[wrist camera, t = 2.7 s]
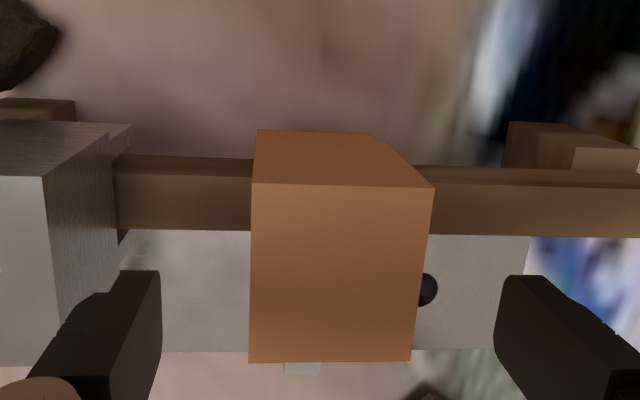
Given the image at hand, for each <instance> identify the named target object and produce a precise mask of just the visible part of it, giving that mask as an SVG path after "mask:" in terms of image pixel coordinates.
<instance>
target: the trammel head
mask: <svg viewBox="0 0 640 400" xmlns="http://www.w3.org/2000/svg"><path fill="white" fill-rule="evenodd" d="M434 193H435V188H434V187H433V186H432V185H431V184H430V183H429V182H428V181H427V180H426V179H425V178H424V177H423V176H422V175H421V174H420V173H419V172H418V171H417V170H415V169H414V168H413V167H412V166H411V165H410V164H409V163H408V162H407V161H406V160H405V159H404V158H403V157H402V156H401V155H400V154H399V153H398V152H397V151H396V150H395V149H394V148H393V147H392V146H391V145H389V144H388V143H387V142H377V141H376V140H375V139H374V138H373V137H372V136H371V135H370V134H355V133H331V132H307V131H283V130H260V129H257V137H256V141H255V152H254V164H253V175H252V196H251V250H250V303H249V356H248V363H284V376H311V375H321V368H322V362H384V361H410V357H411V350H412V343H413V336H414V329H415V322H416V316H417V309H418V302H419V295H420V288H421V282H422V275H423V268H424V261H425V254H426V247H427V241H428V234H429V227H430V220H431V213H432V206H433V200H434Z"/></svg>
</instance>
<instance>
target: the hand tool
mask: <svg viewBox="0 0 640 400" xmlns="http://www.w3.org/2000/svg"><path fill="white" fill-rule="evenodd" d="M58 33H59V31H58V29H57V28H56V27H55V26H52V25H50V23H49V22H47V21H45V20H42V19H38V18H35V17H32V15H31V13H30V11H29V10H28V9H27V8H26V7H25V6H24V4H23V3H22V2H21V1H20V0H0V92H2V91H7V90H12V89H13V88H14V87H15V86H16V85H17V84H18V83H20V82H21V81H22V80H23V79H25V78H26V77H27V75H28V74H29V73H30V72H31V71H32V70H33V69H34V68H36V67H37V66H38V65H39V64H40V63H41V62H42V60H43V59H44V58H45V57H46V55H47V54H48V53H49V51H50V50H51V48H52V46H53V45H54V43H55V41H56V39H57V36H58Z"/></svg>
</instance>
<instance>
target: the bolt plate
mask: <svg viewBox="0 0 640 400" xmlns="http://www.w3.org/2000/svg"><path fill="white" fill-rule="evenodd" d="M530 238H531V236H490V235H435V234H428V241H427V247H426V254H425V261H424V268H423V275H422V282H421V288H420V295H419V302H418V309H417V316H416V322H415V329H414V336H413V343H412V350H426V349H494V345H493V331H494V326H495V321H496V317H497V312H498V307H499V302H500V297H501V292H502V287H503V283H504V281H505V279H506V278H507V277H508V276H509V275H523V270H524V266H525V261H526V257H527V252H528V248H529V243H530ZM250 250H251V231H211V230H156V229H139V234H138V236H137V237H136V239H135V241H134V242H133V244H132V245H131V247H130V249H129V250H128V252H127V254H126V255H125V257H124V259H123V260H122V262H121V263H120V265H119V267H120V273H121V271H122V270H158V271H159V273H160V279H161V300H162V326H163V342H162V352H236V351H249V303H250ZM119 275H120V274H119ZM117 278H118V277H117ZM116 280H117V279H116ZM114 283H115V282H114ZM113 285H114V284H113ZM111 288H112V287H111ZM110 290H111V289H110Z"/></svg>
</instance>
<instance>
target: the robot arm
mask: <svg viewBox="0 0 640 400" xmlns="http://www.w3.org/2000/svg"><path fill="white" fill-rule="evenodd" d="M162 342H163V326H162V300H161V279H160V273H159V271H158V270H122V271H121V273H120V275H119V276H118V278H117V280H116V281H115V283H114V285H113V286H112V288H111V290H110V291H109V292H95V293H93V294H92V295H90V296H89V297H87V298H86V299H84V300H83V301H81V302H80V303H78V304H77V305H75V307H74V308H73V310H72V311H71V313H70V314H69V315H68V317H67V318H66V320H65V324H62V326H61V327H60V329H59V330H58V331H57V333H56V337H53V339H52V340H51V342H50V343H49V345H48V346H47V348H46V349H45V350H44V352H43V353H42V355H41V356H40V358H39V359H38V361H37V362H36V364H35V365H34V366H33V368H32V369H31V371H30V372H29V374H28V375H27V377H26V378H25V379H23V380H19V381H16V382H13V383H10V384H8V385H5V386H3V387H1V388H0V400H148V397H149V394H150V391H151V387H152V384H153V381H154V378H155V375H156V372H157V368H158V365H159V362H160V358H161V352H162ZM493 345H494V349H495V353H496V355H497V358H498V359H499V361H500V362H501V364H502V365H503V366H504V368H505V369H506V371H507V372H508V373H509V375H510V376H511V378H512V379H513V380H514V382H515V383H516V384H517V386H518V387H519V389H520V390H521V391H522V393H523V394H524V396H525V397H526V398H527V400H640V353H639V352H638V351H637V350H636V349H635V348H633V347H632V346H631V345H630V344H629V343H628V342H626V341H625V340H624V339H623V338H622V337H620V336H619V335H615V331H613V330H612V329H611V328H610V327H609V326H608V325H606V324H605V323H602V320H601V319H599V318H598V317H597V316H596V315H595V314H594V313H592V312H591V311H590V310H589V309H588V308H587V307H585V306H583V305H581V304H579V303H577V302H575V301H574V300H572V299H570V298H568V297H567V296H566V295H565V294H564V293H562V292H561V291H560V290H559V289H558V288H557V287H556V286H554V285H553V284H552V283H551V282H550V281H549V280H547V279H546V278H545V277H544V276H541V275H509V276H508V277H507V278H506V279H505V281H504V283H503V287H502V292H501V297H500V302H499V307H498V312H497V317H496V321H495V326H494V331H493Z"/></svg>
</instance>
